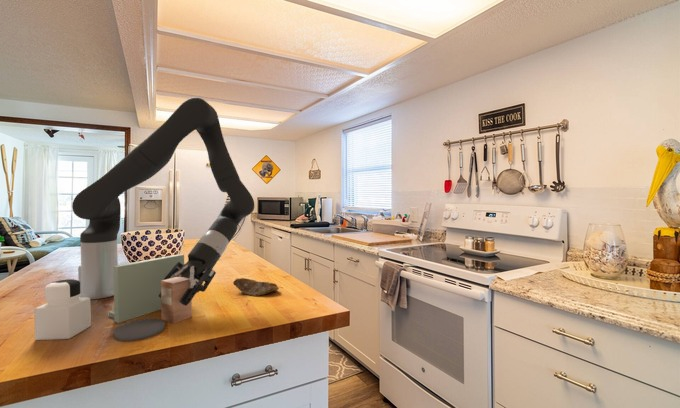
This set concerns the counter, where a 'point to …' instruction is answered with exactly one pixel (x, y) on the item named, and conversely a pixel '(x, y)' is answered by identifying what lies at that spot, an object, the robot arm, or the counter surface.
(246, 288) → the decorative stone
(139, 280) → the screen
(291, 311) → the counter surface
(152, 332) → the mat
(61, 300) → the white stepped block
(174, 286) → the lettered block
